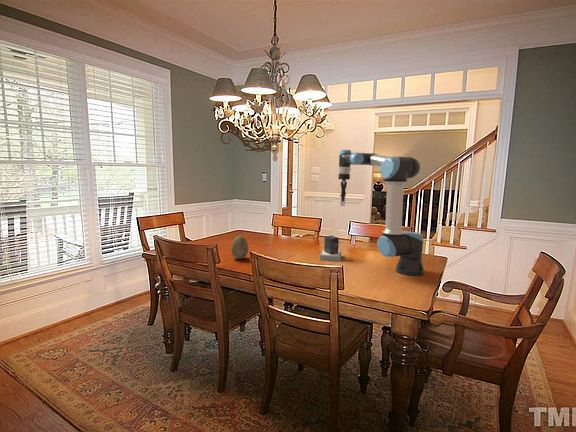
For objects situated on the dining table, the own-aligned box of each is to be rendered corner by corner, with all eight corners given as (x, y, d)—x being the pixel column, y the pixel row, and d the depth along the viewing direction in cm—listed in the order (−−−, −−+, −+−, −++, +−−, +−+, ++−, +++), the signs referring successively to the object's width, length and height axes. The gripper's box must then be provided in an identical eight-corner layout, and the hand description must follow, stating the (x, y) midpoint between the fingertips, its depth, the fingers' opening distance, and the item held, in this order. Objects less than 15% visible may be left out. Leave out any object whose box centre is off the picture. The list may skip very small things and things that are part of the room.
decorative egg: (251, 259, 210) (251, 236, 207) (236, 262, 203) (236, 238, 200) (242, 255, 218) (242, 233, 215) (227, 258, 211) (227, 235, 209)
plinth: (340, 261, 209) (340, 256, 208) (319, 259, 211) (320, 254, 211) (341, 255, 222) (341, 250, 221) (321, 254, 224) (321, 249, 223)
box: (338, 253, 214) (339, 237, 212) (331, 254, 211) (331, 238, 209) (330, 250, 221) (331, 235, 219) (323, 251, 218) (324, 236, 216)
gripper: (350, 174, 210) (348, 207, 214) (350, 173, 234) (348, 203, 238) (338, 173, 211) (336, 207, 215) (339, 172, 236) (337, 202, 239)
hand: (342, 205), depth 226 cm, fingers open, 13 cm apart
